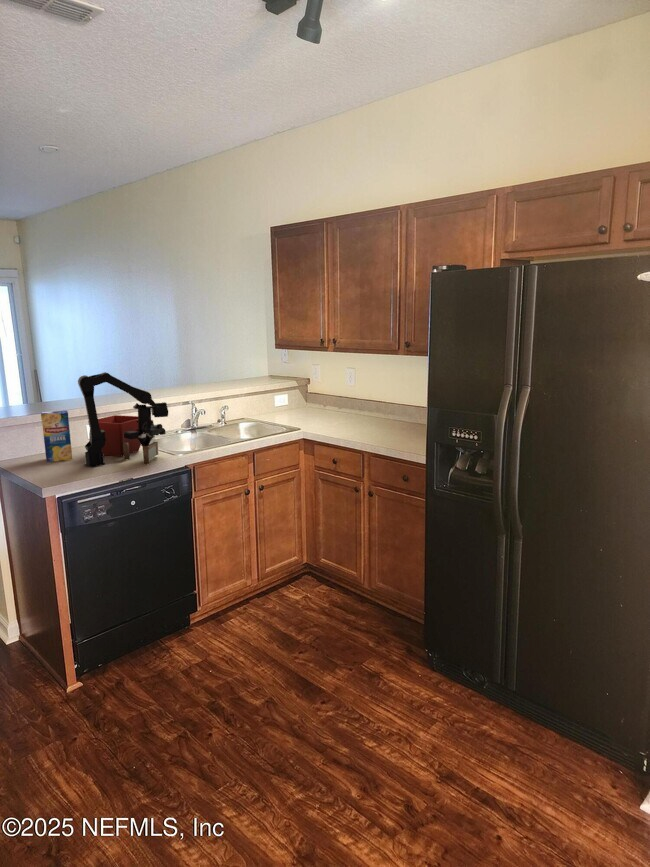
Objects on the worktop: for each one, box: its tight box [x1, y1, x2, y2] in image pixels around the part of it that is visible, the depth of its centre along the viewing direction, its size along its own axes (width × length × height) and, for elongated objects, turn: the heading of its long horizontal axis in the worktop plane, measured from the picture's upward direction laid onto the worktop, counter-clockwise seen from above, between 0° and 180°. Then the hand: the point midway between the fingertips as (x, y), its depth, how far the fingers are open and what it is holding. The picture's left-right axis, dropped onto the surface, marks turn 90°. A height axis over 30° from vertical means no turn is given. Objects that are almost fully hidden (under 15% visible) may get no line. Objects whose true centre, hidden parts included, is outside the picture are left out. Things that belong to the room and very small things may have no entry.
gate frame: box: [123, 443, 150, 466], centre depth 258 cm, size 2×17×8 cm, turn 52°
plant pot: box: [88, 414, 143, 457], centre depth 273 cm, size 19×19×17 cm
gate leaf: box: [148, 441, 159, 461], centre depth 261 cm, size 2×12×6 cm, turn 177°
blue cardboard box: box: [40, 410, 73, 463], centre depth 261 cm, size 7×11×22 cm, turn 117°
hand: (145, 451), depth 263 cm, fingers closed
